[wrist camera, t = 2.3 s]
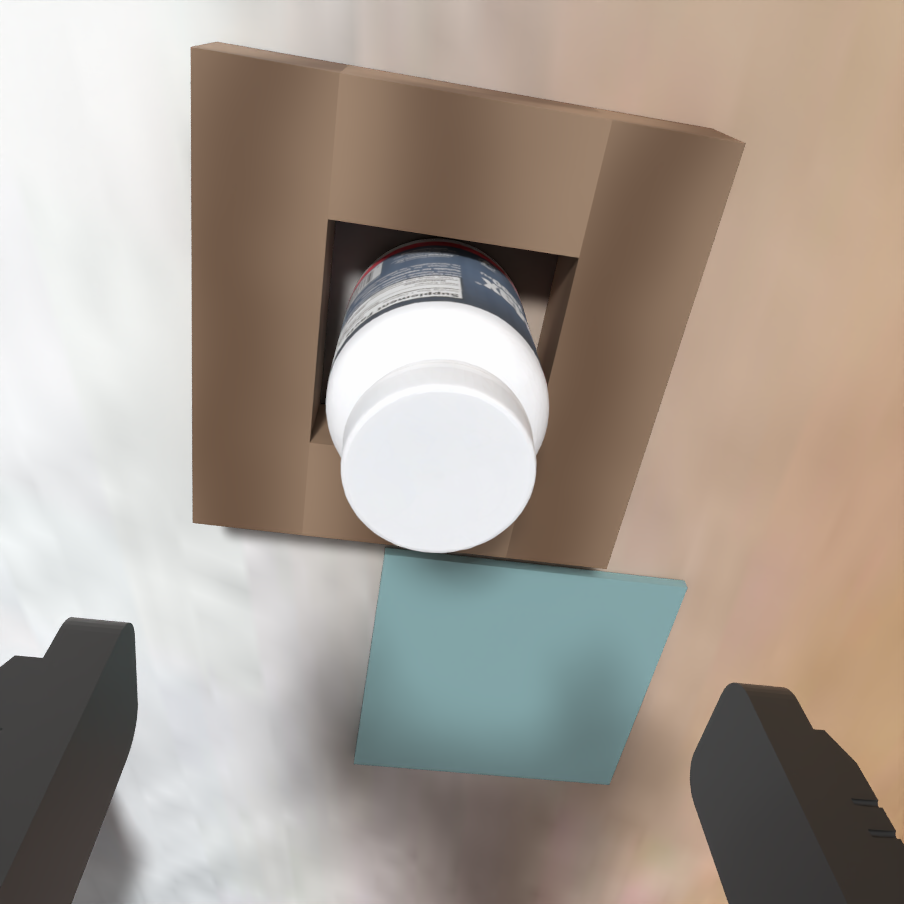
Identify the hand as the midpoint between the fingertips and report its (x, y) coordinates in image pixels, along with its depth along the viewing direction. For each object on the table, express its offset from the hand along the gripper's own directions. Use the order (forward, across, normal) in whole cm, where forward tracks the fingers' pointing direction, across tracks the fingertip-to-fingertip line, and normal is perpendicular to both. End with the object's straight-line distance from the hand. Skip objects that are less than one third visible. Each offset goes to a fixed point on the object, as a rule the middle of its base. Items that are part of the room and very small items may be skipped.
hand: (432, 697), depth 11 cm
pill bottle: (+15, 0, 0) cm, 15 cm away
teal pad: (+15, -5, +14) cm, 21 cm away
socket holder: (+15, 0, 0) cm, 15 cm away
